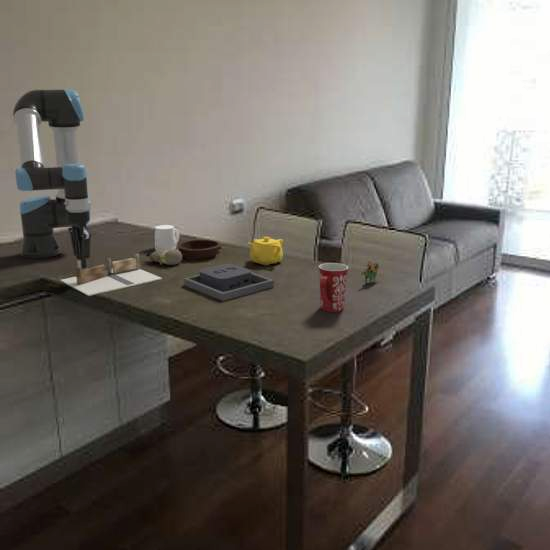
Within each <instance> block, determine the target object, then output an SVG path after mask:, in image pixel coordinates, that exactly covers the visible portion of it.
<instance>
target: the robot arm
mask: <svg viewBox="0 0 550 550" xmlns="http://www.w3.org/2000/svg"><path fill="white" fill-rule="evenodd" d="M12 117H13V122H14V125H16V129H17V130H16V131H17V138H18V147H19V148H18V150H19V158H20V159H19V161H20V168H16V169H15V170H14V171H15V182H16V187H17V190H19V191H22V192H23V191H24V192H25V191H27V192H33V191H48V190H58V191H57V192H56V193H55V198H54V199H51V197H50V195H38V196H32V197H28V198H25V199H23V200H22V201H21V202H20V203H19V210H20V211H19V215H20V219H21V228H22V235H23V236H22V242H21V247H20V250H19V251H20V256H21V258H23V259H30V260H32V259H33V260H34V259H35V260H38V259H47V258H48V259H49V258H52V257H55V256H58V255H60V254H61V247H60V246H59V242H58V240H57V239H56V236H55V233H54V232H55V231H54V229H60V228H68V229H67V230H68V233H69V236H70V241H71V246H72V251H73V256H74V257H76V260H77V268H81V271H82V270H85V269H88V262H87V261H88V259H90V257H91V256H90V255H91V237H92V233H91V232H88V227H87V225H88V224H89V222H90V221H91V200H90V197H89V193H88V180H87V179H88V178H87V176H88V174H87V169H86V166H85V164H84V163H80V158H79V156H80V155H79V146H78V145H79V144H78V143H79V142H78V133H77V132H78V131H77V130H78V129H79V128H81V122H84V120H85V119H84V111H83V108H82V103H81V100H80V96H79V94H78V92H77V91H75V90H72V89H33V90H29V91H27V92H26V93H24V94H23V95H21V96H20V98H19V99H18V100H17V102H16V103H15V105H14V107H13V113H12ZM42 122H46V123H47V122H48V123H47V124H48V127H49V128H50V129H51V130H52V131H53V140H54V151H55V152H54V153H55V160H56V166H54V167H49V166H48V167H45V162H44V154H43V145H42V138H41V129H40V126H41V124H42Z"/></svg>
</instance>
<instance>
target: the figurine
mask: <svg viewBox="0 0 550 550" xmlns="http://www.w3.org/2000/svg"><path fill="white" fill-rule="evenodd" d="M369 263H370V264H369ZM366 267H367V268H364V271H362V272H361V273H360V276H361V275H362V276H364V280H365V284H369V285H372V284H371V282H372V281H373V282H374V281H376V277H377V275H379V272H378V269H380V266H379V263H378V262H374V263H373V264H372V262H371V261H367V265H366ZM368 278H369V282H368ZM371 280H372V281H371ZM367 282H368V283H367Z"/></svg>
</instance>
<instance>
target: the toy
mask: <svg viewBox="0 0 550 550" xmlns="http://www.w3.org/2000/svg"><path fill="white" fill-rule="evenodd" d="M145 257H148V258H149V259H150V262H152V261H154V262H155V263H159V264H160V265H161V266H162V265H163V264H165V265H169V266H175V265H179V263H181V262H182V260H183V258H182V254H181V252H180V251H179V249H176V248H175V249H170V250H167V251H165V250H155V251H154V252H152V253H149V252H148V253H147V254H146V255H145Z"/></svg>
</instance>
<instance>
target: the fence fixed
mask: <svg viewBox="0 0 550 550" xmlns="http://www.w3.org/2000/svg"><path fill="white" fill-rule="evenodd" d="M106 264H107V268H108V275H112V270H113V273H119V272H123V271H128V270H133V269H141V268H140V267H141V266H140V255H139V253H134V254H133V257H130V258H125V259H121V260H114V261H112V260H111V258H108V257H107V258H106Z"/></svg>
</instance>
